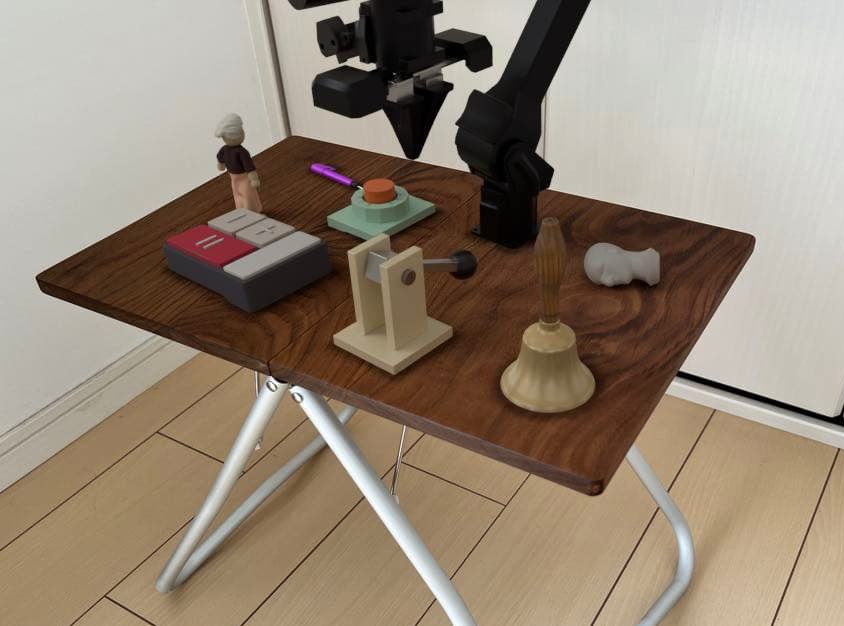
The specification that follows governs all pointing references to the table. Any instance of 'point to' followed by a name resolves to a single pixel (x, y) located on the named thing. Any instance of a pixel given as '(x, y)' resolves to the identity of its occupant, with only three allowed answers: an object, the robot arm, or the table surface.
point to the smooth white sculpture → (621, 265)
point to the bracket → (390, 310)
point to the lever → (427, 264)
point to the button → (379, 191)
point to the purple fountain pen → (333, 175)
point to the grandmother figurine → (238, 163)
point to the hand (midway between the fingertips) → (412, 158)
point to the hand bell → (548, 341)
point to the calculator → (248, 258)
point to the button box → (380, 215)
